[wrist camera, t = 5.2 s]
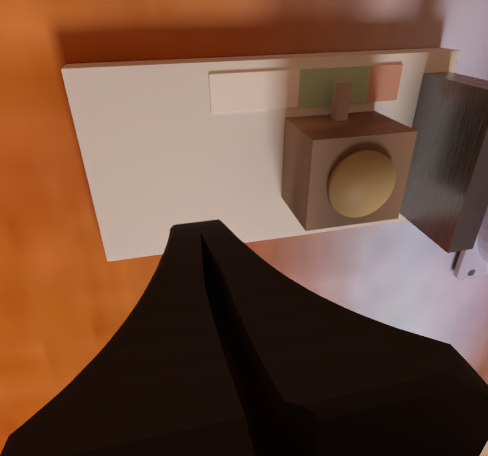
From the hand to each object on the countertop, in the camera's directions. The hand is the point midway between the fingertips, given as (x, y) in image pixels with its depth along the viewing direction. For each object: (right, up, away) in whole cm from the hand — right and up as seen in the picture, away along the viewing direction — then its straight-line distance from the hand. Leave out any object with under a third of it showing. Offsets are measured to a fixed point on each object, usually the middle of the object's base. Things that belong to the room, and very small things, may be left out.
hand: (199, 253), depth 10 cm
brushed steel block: (+9, +4, +7) cm, 13 cm away
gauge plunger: (+5, +4, +6) cm, 9 cm away
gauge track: (+2, +4, +7) cm, 8 cm away
